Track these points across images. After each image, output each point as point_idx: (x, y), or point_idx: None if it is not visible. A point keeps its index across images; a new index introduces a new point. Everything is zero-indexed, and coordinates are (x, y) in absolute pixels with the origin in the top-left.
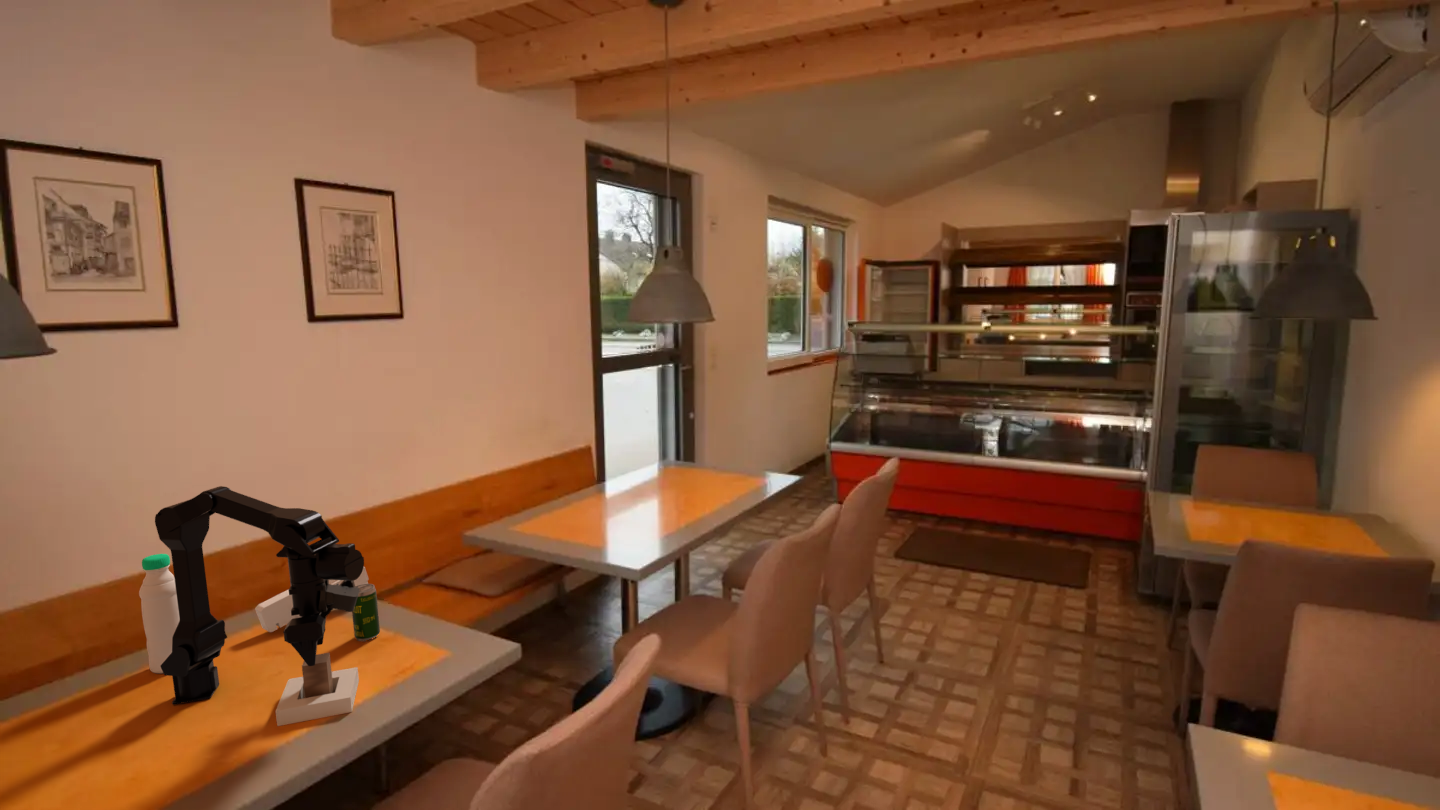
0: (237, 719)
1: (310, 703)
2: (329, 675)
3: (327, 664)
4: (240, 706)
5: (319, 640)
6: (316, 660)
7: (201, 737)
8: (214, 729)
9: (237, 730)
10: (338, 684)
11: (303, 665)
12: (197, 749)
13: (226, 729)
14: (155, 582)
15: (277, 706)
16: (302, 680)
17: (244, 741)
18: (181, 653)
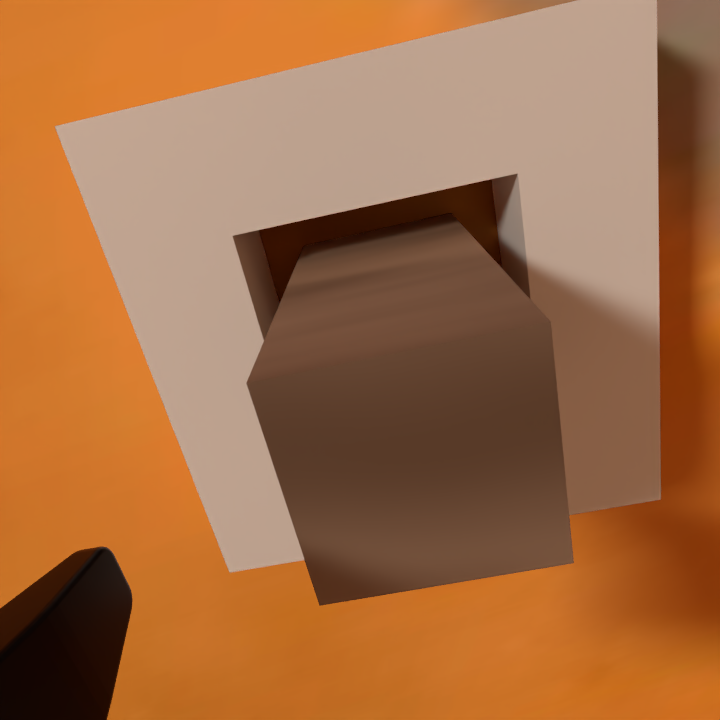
0: (476, 634)
1: (641, 312)
2: (407, 276)
3: (479, 312)
4: (351, 665)
5: (90, 616)
6: (458, 462)
7: (595, 699)
8: (541, 682)
9: (586, 598)
10: (374, 194)
11: (557, 553)
12: (696, 677)
13: (558, 641)
14: None
15: (601, 509)
16: (260, 487)
17: (711, 534)
18: None
